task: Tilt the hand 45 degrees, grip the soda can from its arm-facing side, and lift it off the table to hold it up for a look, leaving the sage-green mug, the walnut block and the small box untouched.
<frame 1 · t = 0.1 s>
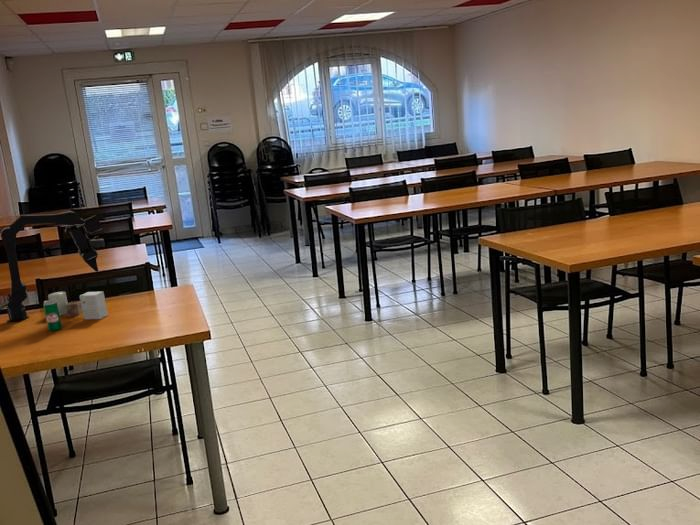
hand: (95, 269, 294), 15 cm above the table, tool pointing down, fingers open, 9 cm apart
soda can: (55, 330, 262), on the table
sage mug: (60, 313, 286), on the table
small box: (96, 317, 274), on the table
walnut block: (75, 314, 283), on the table
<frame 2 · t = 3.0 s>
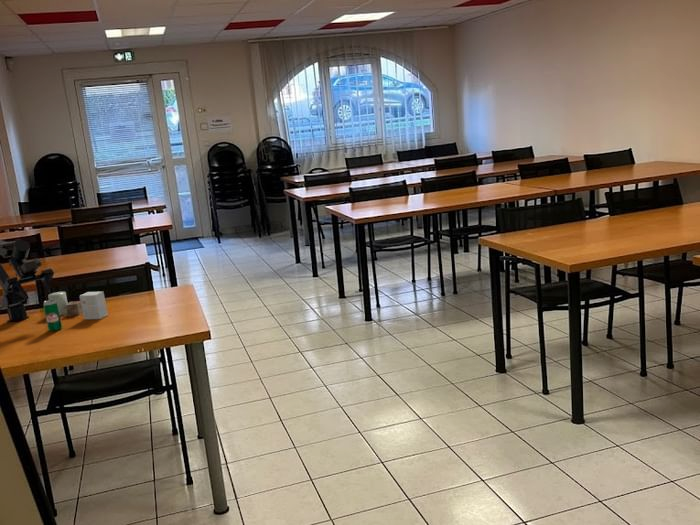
hand: (39, 295, 264), 13 cm above the table, tool tilted 45°, fingers open, 9 cm apart
nothing on the table moved.
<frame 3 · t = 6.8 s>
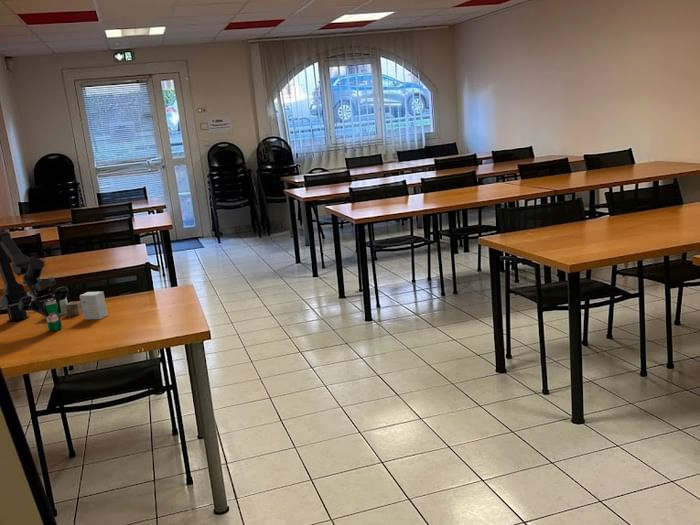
hand: (53, 314, 259), 7 cm above the table, tool tilted 45°, fingers closed on soda can, 5 cm apart
soda can: (55, 330, 262), on the table, touching gripper
everything else where it was.
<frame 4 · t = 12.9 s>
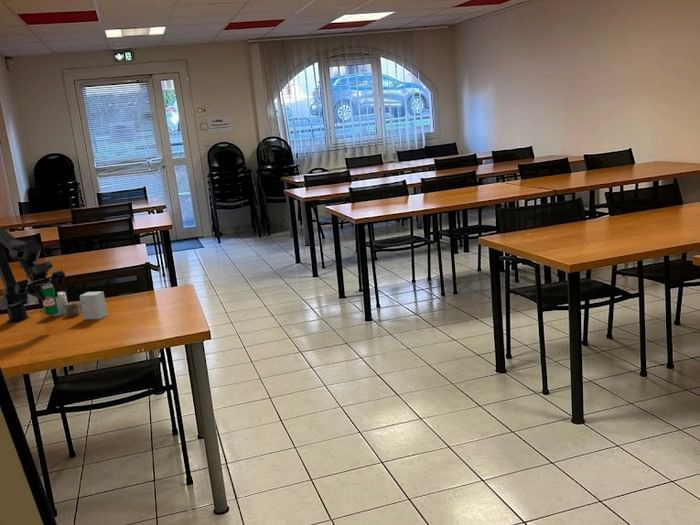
hand: (50, 298, 258), 13 cm above the table, tool tilted 45°, fingers closed on soda can, 5 cm apart
soda can: (52, 314, 260), point 6 cm above the table, touching gripper
everything else where it was.
at the end: the gripper is holding soda can; soda can point 6.5 cm above the table; soda can tilted 0° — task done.
